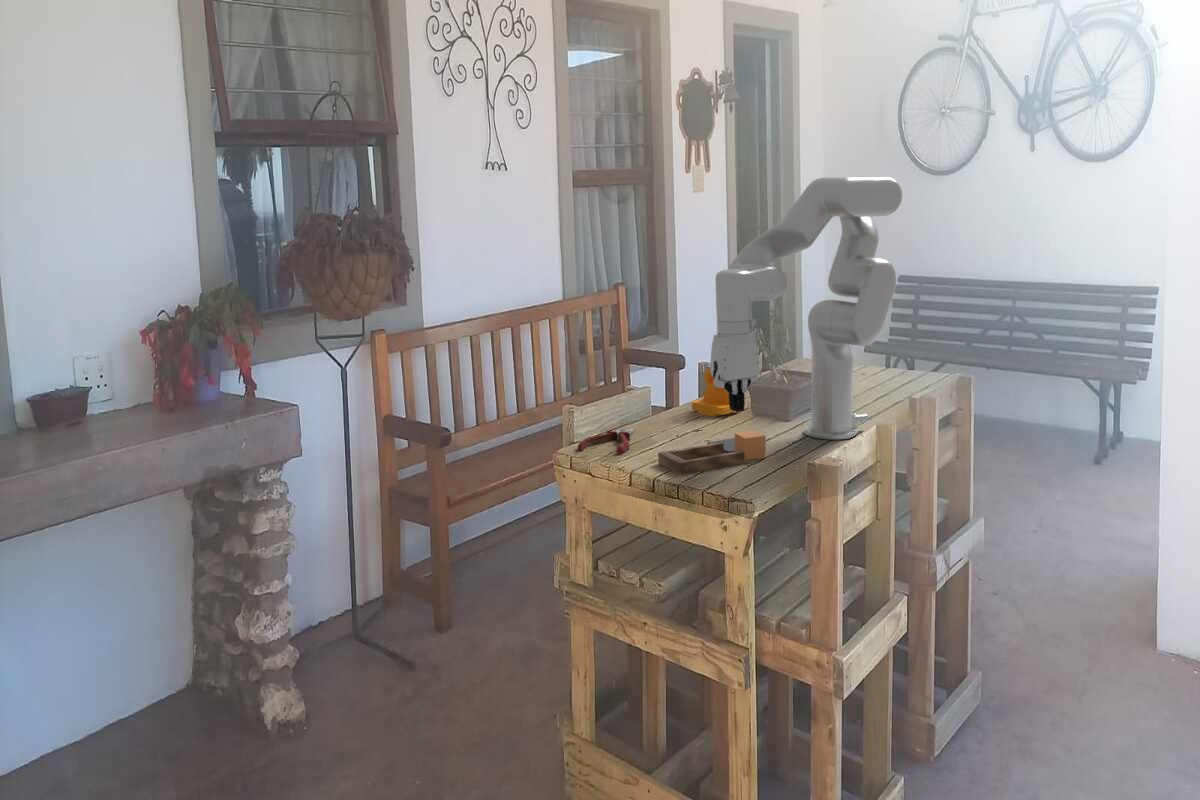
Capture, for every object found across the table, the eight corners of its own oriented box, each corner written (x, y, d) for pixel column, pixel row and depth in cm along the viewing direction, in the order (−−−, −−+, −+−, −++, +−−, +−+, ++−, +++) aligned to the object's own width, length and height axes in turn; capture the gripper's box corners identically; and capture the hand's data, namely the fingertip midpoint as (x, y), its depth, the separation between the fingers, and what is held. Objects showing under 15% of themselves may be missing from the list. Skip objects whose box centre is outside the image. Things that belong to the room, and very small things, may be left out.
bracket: (690, 411, 272) (689, 366, 269) (708, 406, 277) (708, 362, 274) (721, 418, 264) (721, 372, 261) (740, 413, 269) (740, 367, 266)
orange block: (754, 452, 233) (754, 430, 232) (765, 457, 229) (765, 435, 227) (734, 454, 232) (734, 433, 230) (745, 460, 227) (745, 438, 226)
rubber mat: (736, 440, 243) (736, 437, 243) (758, 448, 235) (758, 446, 235) (707, 444, 240) (707, 442, 240) (728, 454, 232) (728, 451, 232)
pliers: (652, 435, 252) (651, 424, 251) (622, 457, 234) (622, 446, 233) (608, 432, 256) (607, 421, 255) (575, 453, 238) (575, 442, 237)
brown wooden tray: (720, 452, 233) (720, 442, 232) (744, 463, 225) (744, 451, 224) (658, 463, 226) (658, 452, 226) (680, 474, 218) (680, 463, 217)
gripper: (753, 320, 229) (755, 401, 233) (695, 329, 223) (698, 412, 227) (773, 325, 222) (775, 408, 227) (714, 334, 216) (717, 419, 221)
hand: (737, 410), depth 227 cm, fingers closed
